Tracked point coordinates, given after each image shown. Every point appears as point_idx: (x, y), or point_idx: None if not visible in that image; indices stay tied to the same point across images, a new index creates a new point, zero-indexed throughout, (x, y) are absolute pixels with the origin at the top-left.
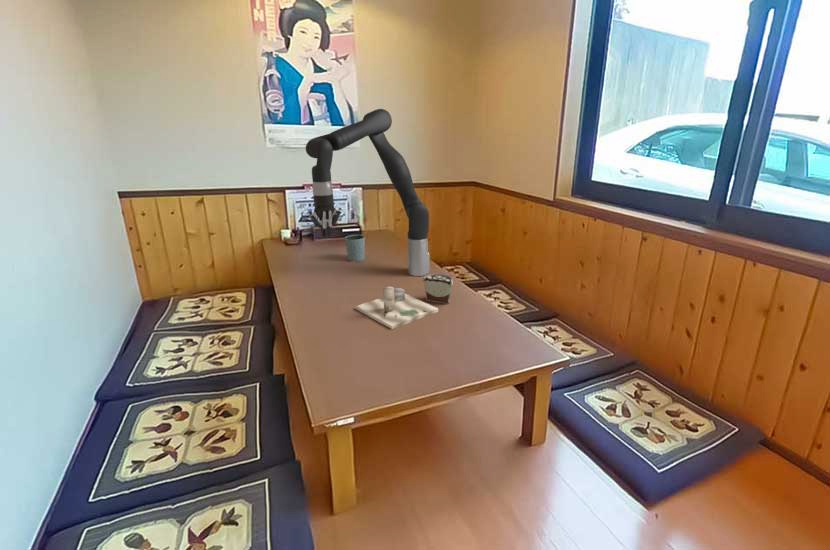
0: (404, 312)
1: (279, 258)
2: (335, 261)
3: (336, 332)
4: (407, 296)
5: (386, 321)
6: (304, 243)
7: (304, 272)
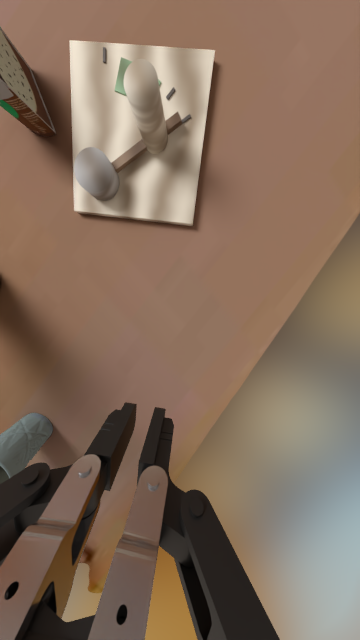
0: None
1: None
2: (73, 444)
3: (297, 156)
4: None
5: (204, 87)
6: None
7: None
